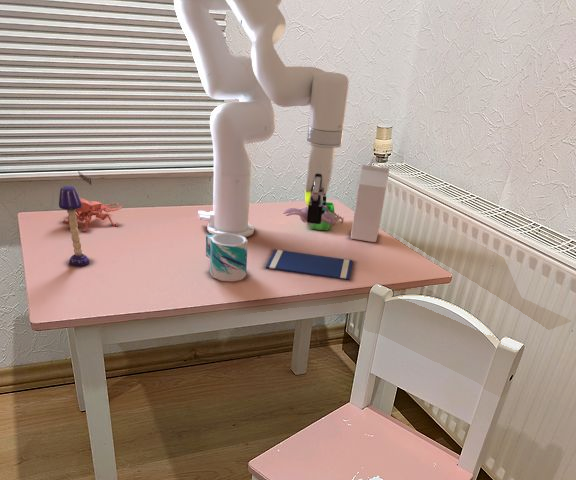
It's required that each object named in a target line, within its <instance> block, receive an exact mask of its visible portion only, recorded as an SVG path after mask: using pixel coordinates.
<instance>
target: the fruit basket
mask: <svg viewBox="0 0 576 480" xmlns="http://www.w3.org/2000/svg"><path fill="white" fill-rule="evenodd" d="M311 189H312V188H311ZM310 195H311V190H310V191H308V192H306V191H305V190H304V196H305V197H304V199H305V201H304V202H305V205H306V207H308V205H309V202H310ZM323 196H324V195H323ZM325 206H326V207H327V208H328V210H329V211H330V212H331V213H333V214H334V213H336V212H335V204H334V203H333V202H329V201H326V205H325ZM325 212H326V210H325ZM325 212H324V213H325ZM324 213H323V214H324ZM323 214H322V215H323ZM330 226H331V224H327V223H326V222H323V223H322V222H321V223H320V224H313V225H309V229H310V230H317V231H329V230H330Z"/></svg>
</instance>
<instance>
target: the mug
mask: <svg viewBox="0 0 576 480" xmlns="http://www.w3.org/2000/svg"><path fill="white" fill-rule="evenodd" d="M248 243H249V241H248V239H247V237H244V236H241V235H238V234H231V233H222V234H207V235H205V257H207V258H208V259H210V260H209V261H210V265H209V266H210V267H209V268H210V269H209V273H210V275H211V277H212V278H213V279H216V280H218V281H221V282H237V281H241V280H243V279H244V278H245V277H247V266H248V245H249V244H248Z"/></svg>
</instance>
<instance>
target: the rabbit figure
mask: <svg viewBox="0 0 576 480" xmlns="http://www.w3.org/2000/svg"><path fill="white" fill-rule="evenodd" d="M324 202H325V201H323V200H322V206H323V209H322V210H326V212H325V213H324V214H323V215H322V218H321V222H322V223H323V222H326V223H327V224H330V226H335V225H337V224H338V222H339V220H341V221H340V223H341V224H340V225H343V224H344V218H345V216H343V217H341V215H340V213H338V214H337V213H336V212H335V213H334V214H333V213H331V212H330V211H329V210H328V208H327V207H326V206H324V205H323V203H324ZM282 214H283V215H285V216H286V217H288V216H293V215H295V216H298V217H299V218H300V219H299V220H301V221H302V223H304V224H305V223H306V224H307V225H308V226H310V225H313V224H314V223H308V222H307V214H308V206H306V207H303V208H300V209H299V208H295V207H291V208H287V209H286V210H284V211H283V213H282Z"/></svg>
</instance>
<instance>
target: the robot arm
mask: <svg viewBox="0 0 576 480" xmlns="http://www.w3.org/2000/svg"><path fill="white" fill-rule="evenodd" d="M282 1H283V0H173V4H174V10H175V13H176V17H177V19H178V22H179V24H180V26H181V28H182V31H183V32H184V35H185V36H186V39H187V41H188V44H189V47H190V50H191V53H192V57H193V59H194V63H195V64H196V69H197V71H198V75H199V78H200V80H201V81H200V82H201V85H202V86H203V89H204V91H205V93H206V95H207V96H208V97H209V98H210V99H213V100H218V101H219V100H221V101H222V100H223V101H224V100H225V101H226V100H238V101H230V102H225V103H221V104H219V105H218V106H217V107H215V108H214V109H213V110H212V112H211V115H210V118H209V129H210V135H211V140H212V141H211V142H212V149H213V151H212V152H213V182H212V183H213V184H212V185H213V186H212V187H213V189H212V191H213V193H212V195H213V196H212V211H211V210H210V211H209V212H208V211H205V210H198V211H197V218H198V219H199V221H203V222H208V223H207V225H206V230H207V232H208V233H209V234H210V235H213V234H222V233H231V234H238V235H241V236H244V237H245V238H247V237H250V236H252V235H253V234H254V232H255V227H254V225H252V224H251V223H249V220H250V219H249V217H250V201H251V200H250V199H251V177H252V162H251V156H250V155H249V152H248V149H247V147H246V145H248V144H254V143H261V142H266V141H267V140H269V139H270V138H271V137H273V135H274V133H275V130H276V115H275V111H274V107H273V104H274V105H276V106H278V107H282V108H291V107H307V106H309V116H308V125H307V137H306V144H308V145H309V146H310V149H309V156H308V163H307V172H306V179H305V186H304V192H305V191H306V192H308V191H310V190H311V195H310V202H309V205H308V206H307V207H308V214H307V222H308V223H314V224H320V223H321V218H322V214H323V213H324V212H325V210H322V209H323V206H322V200H323V201H325V202H324V203H323V205H324V206H325V205H326V202H327V193H328V190H329V188H330V184H331V179H332V175H333V170H334V169H333V168H334V162H335V154H336V149H338V148H341V147H342V143H343V134H344V126H345V118H346V110H347V102H348V93H349V86H350V85H349V84H350V81H349V78H348V76H347V75H346V74H344V73H339V72H332V71H325V70H323V69H321V68H319V67H315V66H299V65H298V66H286V65H285V63H284V62H283V60H282V58H281V57H280V56H279V54H278V53H277V50H276V48H275V46H274V45H275V44H277V42H278V41H279V40H280V39H281V38H282V36H283V34H284V33H285V30H286V26H287V23H286V19H285V15H283V13H282V12H281V10H280V8H279V7H280V5H281V3H282ZM210 11H219V12H229V13H230V12H231V13H232V14H234V16H235V18H236V20H237V21H238V23H239V24H240V26H241V27H242V29H243V30H244V32H245V34H246V36H247V37H248V39H249V40H250V42H251V49H250V57H249V56H246V55H234V54H232V52H231V51H230V49H229V46H228V43H227V40H226V37H225V34H224V31H223V30H222V28H221V27H220V26H221V25H219V23H218V22H217V21H216V20H215V19H214V18H213V16H212V15H211V13H210ZM311 188H312V189H311ZM323 195H324V196H323Z"/></svg>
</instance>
